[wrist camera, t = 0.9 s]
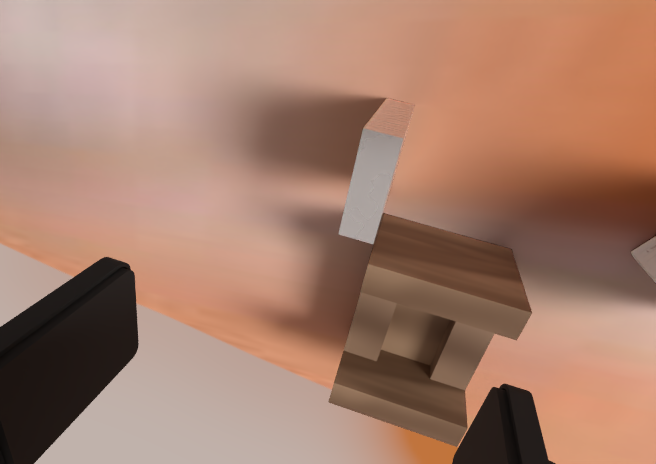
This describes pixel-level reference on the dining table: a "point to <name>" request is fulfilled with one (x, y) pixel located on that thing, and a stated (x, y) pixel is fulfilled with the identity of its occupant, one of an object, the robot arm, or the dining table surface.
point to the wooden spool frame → (426, 326)
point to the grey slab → (375, 170)
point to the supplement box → (647, 257)
